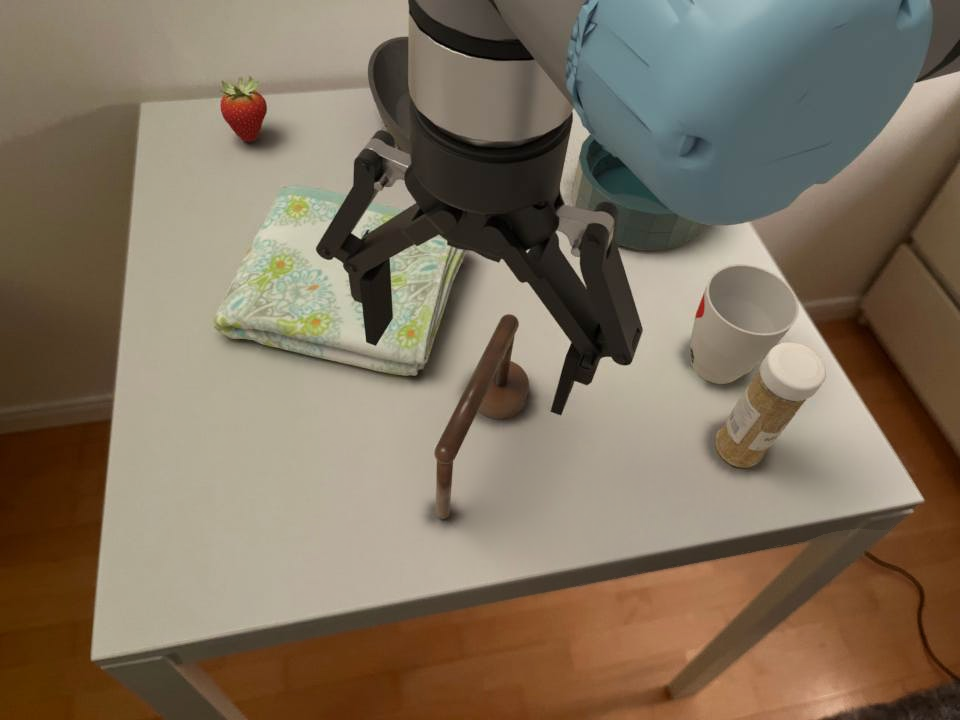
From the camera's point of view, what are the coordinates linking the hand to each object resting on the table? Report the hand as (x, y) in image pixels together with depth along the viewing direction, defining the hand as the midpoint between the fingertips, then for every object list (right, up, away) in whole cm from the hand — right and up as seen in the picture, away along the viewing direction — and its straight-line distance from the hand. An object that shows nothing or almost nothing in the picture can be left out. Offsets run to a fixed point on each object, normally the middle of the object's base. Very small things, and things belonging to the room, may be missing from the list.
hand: (468, 363), depth 51 cm
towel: (-12, +7, +25) cm, 29 cm away
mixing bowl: (+19, +18, +35) cm, 44 cm away
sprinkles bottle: (+24, -8, +17) cm, 31 cm away
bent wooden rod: (0, -7, +16) cm, 17 cm away
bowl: (-6, +28, +40) cm, 49 cm away
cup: (+24, 0, +22) cm, 33 cm away
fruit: (-27, +27, +38) cm, 53 cm away
